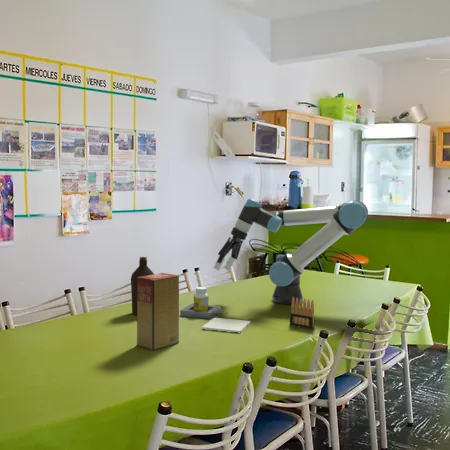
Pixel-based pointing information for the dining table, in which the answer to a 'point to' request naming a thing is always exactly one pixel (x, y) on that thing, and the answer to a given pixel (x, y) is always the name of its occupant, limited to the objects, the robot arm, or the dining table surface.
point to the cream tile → (226, 325)
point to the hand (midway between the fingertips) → (221, 269)
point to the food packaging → (157, 310)
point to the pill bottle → (201, 299)
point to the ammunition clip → (302, 314)
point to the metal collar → (200, 312)
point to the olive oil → (139, 272)
